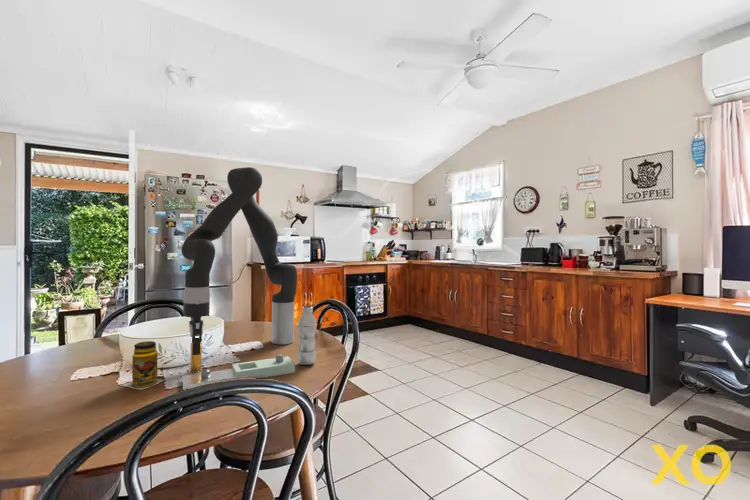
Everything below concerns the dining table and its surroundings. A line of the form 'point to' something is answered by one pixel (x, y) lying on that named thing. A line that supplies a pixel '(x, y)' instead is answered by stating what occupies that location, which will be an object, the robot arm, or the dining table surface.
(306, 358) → the plastic bottle
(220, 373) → the lower chain end
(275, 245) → the robot arm
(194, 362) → the pin
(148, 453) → the dining table surface
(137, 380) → the condiment
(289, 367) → the block
